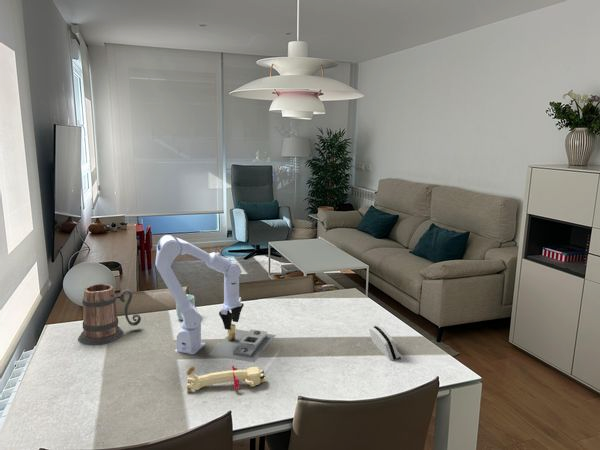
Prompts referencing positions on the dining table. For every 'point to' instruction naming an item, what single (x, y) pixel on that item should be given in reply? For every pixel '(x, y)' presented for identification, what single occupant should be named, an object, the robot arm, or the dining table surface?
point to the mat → (228, 347)
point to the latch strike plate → (250, 343)
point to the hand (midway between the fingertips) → (231, 325)
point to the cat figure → (225, 377)
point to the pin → (231, 333)
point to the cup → (192, 301)
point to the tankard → (103, 315)
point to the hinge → (384, 342)
